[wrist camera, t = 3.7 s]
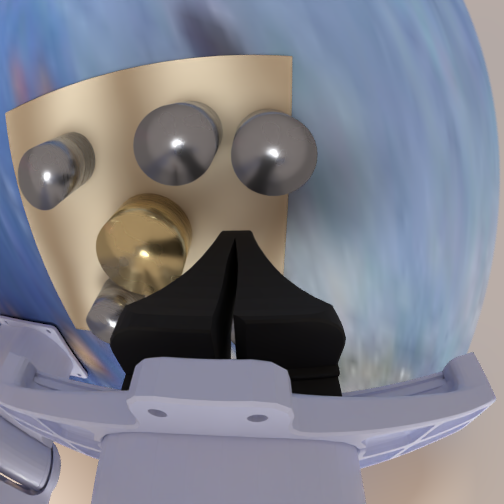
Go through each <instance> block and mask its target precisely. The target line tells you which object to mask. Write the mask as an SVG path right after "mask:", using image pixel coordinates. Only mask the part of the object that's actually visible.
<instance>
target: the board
mask: <svg viewBox="0 0 504 504" xmlns="http://www.w3.org/2000/svg"><path fill="white" fill-rule="evenodd" d="M184 101H198V102H201V103H204V104H206V105H208V106H209V107H211V108H212V109H213V110H214V111H215V112H216V113H217V115H218V116H219V118H220V121H221V123H222V129H223V135H222V140H221V143H220V146H219V148H218V150H217V152H216V154H215V156H214V158H213V161H212V163H211V165H210V166H209V168H208V169H207V171H206V172H205V173H204V174H203V175H202V176H201V177H199V178H198V179H197V180H195V181H193V182H191V183H188V184H185V185H180V186H169V185H164V184H160V183H158V182H156V181H154V180H152V179H151V178H149V177H148V176H147V175H146V174H145V173H144V172H143V171H142V170H141V168H140V167H139V165H138V163H137V161H136V158H135V155H134V149H133V142H134V136H135V132H136V130H137V128H138V126H139V124H140V122H141V121H142V120H143V118H144V117H145V116H146V115H148V114H149V113H150V112H151V111H153V110H155V109H157V108H159V107H161V106H164V105H169V104H174V103H178V102H184ZM260 109H276V110H279V111H282V112H284V113H286V114H288V115H289V116H291V109H292V56H276V55H230V56H212V57H200V58H190V59H181V60H174V61H167V62H160V63H154V64H149V65H144V66H139V67H134V68H129V69H125V70H121V71H116V72H112V73H109V74H105V75H101V76H98V77H94V78H91V79H88V80H84V81H81V82H78V83H75V84H72V85H69V86H67V87H64V88H61V89H58V90H56V91H53V92H51V93H48V94H46V95H43V96H41V97H38V98H36V99H34V100H32V101H29V102H27V103H25V104H23V105H21V106H19V107H17V108H15V109H13V110H11V111H9V112H7V113H5V114H6V124H7V131H8V138H9V145H10V151H11V156H12V161H13V166H14V171H15V175H16V179H17V184H18V188H19V191H20V195H21V199H22V202H23V206H24V209H25V212H26V216H27V219H28V222H29V225H30V228H31V231H32V233H33V236H34V239H35V242H36V244H37V247H38V250H39V252H40V255H41V257H42V260H43V262H44V264H45V267H46V269H47V271H48V274H49V276H50V278H51V280H52V283H53V285H54V287H55V289H56V291H57V293H58V295H59V297H60V299H61V301H62V303H63V305H64V307H65V309H66V311H67V313H68V315H69V316H70V318H71V320H72V322H73V324H74V325H75V327H76V329H82V330H90V329H89V327H88V325H87V322H86V317H87V315H88V313H89V311H90V309H91V307H92V305H93V303H94V301H95V300H96V298H97V296H98V294H99V292H100V290H101V289H102V287H103V285H104V283H105V282H106V280H108V279H109V276H108V275H107V274H106V273H105V272H104V270H103V269H102V267H101V265H100V263H99V260H98V257H97V253H96V240H97V236H98V234H99V232H100V230H101V228H102V227H103V226H104V225H105V223H106V222H107V221H108V220H109V219H110V218H111V216H112V215H113V214H114V213H115V212H116V211H117V210H118V209H119V207H120V206H121V205H122V204H123V203H124V202H125V201H126V200H128V199H129V198H131V197H133V196H135V195H138V194H143V193H153V194H158V195H162V196H165V197H167V198H169V199H171V200H172V201H174V202H175V203H176V204H177V205H179V206H180V207H181V208H182V210H183V211H184V212H185V214H186V215H187V217H188V219H189V221H190V224H191V227H192V242H191V246H190V249H189V253H188V256H187V259H186V262H185V266H184V269H183V273H182V275H183V274H184V273H185V272H186V271H188V270H189V269H190V268H191V267H192V266H193V265H194V264H195V263H196V262H197V261H198V260H199V259H200V258H201V257H202V256H203V255H204V253H205V252H206V251H207V250H208V249H209V247H210V246H211V245H212V244H213V242H214V241H215V240H216V238H217V237H218V235H219V234H220V233H221V232H222V231H232V230H251V231H252V232H253V235H254V238H255V240H256V242H257V243H258V245H259V247H260V248H261V250H262V251H263V253H264V254H265V256H266V257H267V258H268V260H269V261H270V262H271V263H272V264H273V266H274V267H275V268H276V269H277V270H278V271H279V272H280V273H281V274H282V275H283V270H284V256H285V242H286V226H287V209H288V194H285V195H280V196H267V195H262V194H259V193H256V192H254V191H252V190H250V189H249V188H247V187H246V186H245V185H244V184H243V183H242V182H241V181H240V180H239V178H238V177H237V175H236V174H235V172H234V169H233V166H232V162H231V149H232V144H233V140H234V136H235V132H236V129H237V127H238V125H239V124H240V122H241V121H242V120H243V119H244V118H245V117H246V116H247V115H249V114H250V113H252V112H254V111H257V110H260ZM69 132H76V133H80V134H82V135H83V136H85V137H86V138H87V139H88V140H89V142H90V143H91V145H92V147H93V150H94V153H95V168H94V172H93V174H92V176H91V178H90V179H89V180H88V181H87V182H86V183H85V184H83V185H82V186H81V187H79V188H78V189H77V190H75V191H74V192H73V193H71V194H70V195H69V196H68V197H66V198H65V199H64V200H63V201H61V202H60V203H59V204H58V205H57V206H55V207H54V208H53V209H50V210H40V209H37V208H35V207H34V206H32V205H31V204H30V203H29V202H28V201H27V200H26V198H25V197H24V195H23V193H22V191H21V189H20V185H19V181H18V167H19V163H20V160H21V158H22V156H23V155H24V153H25V152H26V151H27V150H29V149H31V148H33V147H35V146H37V145H39V144H42V143H44V142H46V141H49V140H51V139H53V138H56V137H58V136H61V135H63V134H66V133H69ZM147 296H149V295H145V297H147ZM90 331H91V330H90Z"/></svg>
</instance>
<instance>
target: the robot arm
mask: <svg viewBox="0 0 504 504" xmlns="http://www.w3.org/2000/svg"><path fill="white" fill-rule="evenodd" d="M233 320H234V333H235V346H236V358H237V359H231V332H232V322H233ZM0 323H1V324H2V325H1V326H0V472H1V473H3V474H4V475H6V476H8V477H9V478H11V479H13V480H15V481H17V482H19V483H20V484H22V485H19V484H17V483H14V482H12V481H11V480H9V479H7V478H5V477H4V476H2V475H0V504H49V500H50V496H51V493H52V491H53V490H54V488H55V487H56V485H57V482H58V479H59V475H60V467H61V460H60V455H59V453H58V450H57V447H56V445H54V443H53V442H57V443H59V444H61V445H63V446H66V447H68V448H71V449H73V450H75V451H77V452H80V453H83V454H85V455H87V456H90V457H93V458H96V459H98V460H99V462H98V467H97V472H96V477H95V483H94V489H93V495H92V501H91V504H366V500H365V493H364V487H363V481H362V475H361V470H360V469H361V468H365V467H368V466H371V465H375V464H378V463H381V462H384V461H387V460H390V459H393V458H396V457H399V456H401V455H404V454H406V453H409V452H411V451H414V450H416V449H419V448H421V447H423V446H426V445H428V444H431V443H433V442H435V441H437V440H440V439H442V438H444V437H446V436H449V435H451V434H453V433H455V432H457V431H459V430H461V429H463V428H464V427H465V426H467V425H468V424H469V423H470V422H472V421H473V420H474V419H475V418H477V417H478V416H479V415H480V414H481V413H482V412H484V411H485V410H486V409H487V408H488V407H489V406H490V405H491V404H492V403H494V402H495V400H496V397H495V395H494V392H493V390H492V388H491V386H490V384H489V382H488V380H487V377H486V375H485V373H484V371H483V369H482V367H481V365H480V364H479V362H478V360H477V358H476V356H475V354H474V352H471V353H468V354H465V355H462V356H458V357H456V358H454V359H452V360H451V361H449V362H448V363H447V365H446V366H445V367H444V369H443V371H442V372H439V373H435V374H432V375H428V376H424V377H420V378H417V379H413V380H409V381H404V382H400V383H396V384H391V385H386V386H381V387H376V388H371V389H365V390H359V391H353V392H346V393H341V388H340V384H339V380H338V376H339V374H340V371H339V367H338V361H339V359H340V356H341V353H342V351H343V348H344V346H345V340H346V337H345V333H344V329H343V326H342V324H341V321H340V319H339V317H338V315H337V313H336V312H335V310H334V308H333V306H332V305H330V304H328V303H326V302H324V301H322V300H320V299H317V298H315V297H313V296H312V295H310V294H308V293H306V292H305V291H303V290H301V289H300V288H298V287H297V286H296V285H294V284H293V283H292V282H290V281H289V280H288V279H286V278H285V277H284V276H283V275H282V274H281V273H280V272H279V271H278V270H277V269H276V268H275V267H274V266H273V264H272V263H271V262H270V261H269V260H268V258H267V257H266V256H265V254H264V253H263V251H262V250H261V248H260V247H259V245H258V243H257V242H256V240H255V238H254V235H253V232H252V231H251V230H232V231H222V232H221V233H220V234H219V235H218V237H217V238H216V240H215V241H214V242H213V244H212V245H211V246H210V247H209V249H208V250H207V251H206V252H205V253H204V255H203V256H202V257H201V258H200V259H199V260H198V261H197V262H196V263H195V264H194V265H193V266H192V267H191V268H190V269H189V270H188V271H186V272H185V273H184V274H183V275H181V276H180V277H179V278H177V279H176V280H174V281H173V282H171V283H170V284H168V285H167V286H165V287H164V288H162V289H160V290H159V291H157V292H155V293H153V294H151V295H149V296H147V297H145V298H143V299H140V300H138V301H135V302H133V303H131V304H128V305H125V307H124V309H123V311H122V312H121V314H120V316H119V318H118V321H117V323H116V325H115V328H114V330H113V333H112V335H111V338H110V347H111V349H112V352H113V353H114V355H115V357H116V359H117V360H118V362H119V364H120V365H121V367H122V369H123V370H124V372H125V373H126V375H125V379H124V382H123V386H122V389H121V390H117V389H112V388H106V387H101V386H96V385H92V384H87V383H83V382H78V381H74V380H70V379H69V377H70V375H73V376H77V377H82V378H87V377H88V374H87V372H86V371H85V370H84V368H83V367H82V366H81V364H80V363H79V361H78V360H77V359H76V357H75V356H74V354H73V353H72V351H71V350H70V348H69V347H68V345H67V344H66V342H65V341H64V339H63V338H62V336H61V335H60V333H59V331H58V330H57V328H56V327H54V326H52V325H46V324H41V323H35V322H30V321H25V320H20V319H15V318H10V317H6V316H1V315H0Z"/></svg>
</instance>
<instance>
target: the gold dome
mask: <svg viewBox="0 0 504 504" xmlns="http://www.w3.org/2000/svg"><path fill="white" fill-rule="evenodd" d="M191 242H192V227H191V224H190V221H189V219H188V217H187V215H186V214H185V212H184V211H183V210H182V208H181V207H180V206H179V205H177V204H176V203H175V202H174V201H172V200H171V199H169V198H167V197H165V196H162V195H158V194H153V193H143V194H138V195H135V196H133V197H131V198H129V199H128V200H126V201H125V202H124V203H123V204H122V205H121V206H120V207H119V209H118V210H117V211H116V212H115V213H114V214H113V215H112V216H111V218H110V219H109V220H108V221H107V222H106V223H105V225H104V226H103V227H102V228H101V230H100V232H99V234H98V236H97V240H96V253H97V257H98V260H99V263H100V265H101V267H102V269H103V270H104V272H105V273H106V274H107V275H108V276H109V278H110V279H111V280H113V281H114V282H115V283H116V284H118V285H119V286H121V287H122V288H124V289H126V290H128V291H131V292H134V293H137V294H142V295H151V294H153V293H155V292H157V291H159V290H160V289H162V288H164V287H165V286H167V285H168V284H170V283H171V282H173V281H174V280H176V279H177V278H179V277H180V276H181V275H182V273H183V269H184V266H185V262H186V259H187V256H188V253H189V249H190V246H191Z"/></svg>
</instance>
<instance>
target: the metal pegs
mask: <svg viewBox="0 0 504 504" xmlns="http://www.w3.org/2000/svg"><path fill="white" fill-rule="evenodd" d="M222 135H223V129H222V123H221V121H220V118H219V116H218V115H217V113H216V112H215V111H214V110H213V109H212V108H211V107H209V106H208V105H206V104H204V103H201V102H198V101H184V102H178V103H174V104H169V105H164V106H161V107H159V108H157V109H155V110H153V111H151V112H150V113H149V114H148V115H146V116H145V117H144V118H143V120H142V121H141V122H140V124H139V126H138V128H137V130H136V132H135V136H134V142H133V149H134V155H135V158H136V161H137V163H138V165H139V167H140V168H141V170H142V171H143V172H144V173H145V174H146V175H147V176H148V177H149V178H151V179H152V180H154V181H156V182H158V183H160V184H164V185H169V186H180V185H185V184H188V183H191V182H193V181H195V180H197V179H198V178H199V177H201V176H202V175H203V174H204V173H205V172H206V171H207V169H208V168H209V166H210V165H211V163H212V161H213V158H214V156H215V154H216V152H217V150H218V148H219V146H220V143H221V140H222ZM231 162H232V166H233V169H234V172H235V174H236V175H237V177H238V178H239V180H240V181H241V182H242V183H243V184H244V185H245V186H246V187H247V188H249V189H250V190H252V191H254V192H256V193H259V194H262V195H267V196H280V195H285V194H289V193H291V192H293V191H295V190H297V189H299V188H300V187H301V186H303V185H304V184H305V183H306V182H307V181H308V179H309V178H310V177H311V175H312V173H313V171H314V169H315V166H316V163H317V147H316V143H315V140H314V138H313V136H312V134H311V133H310V131H309V130H308V129H307V128H306V127H305V126H304V125H303V124H302V123H301V122H299V121H298V120H296V119H295V118H293V117H291V116H289V115H288V114H286V113H284V112H282V111H279V110H276V109H260V110H257V111H254V112H252V113H250V114H249V115H247V116H246V117H245V118H244V119H243V120H242V121H241V122H240V124H239V125H238V127H237V129H236V132H235V136H234V140H233V144H232V149H231ZM94 168H95V153H94V150H93V147H92V145H91V143H90V142H89V140H88V139H87V138H86V137H85V136H83V135H82V134H80V133H76V132H69V133H66V134H63V135H61V136H58V137H56V138H53V139H51V140H49V141H46V142H44V143H42V144H39V145H37V146H35V147H33V148H31V149H29V150H27V151H26V152H25V153H24V155H23V156H22V158H21V160H20V163H19V167H18V181H19V185H20V189H21V191H22V193H23V195H24V197H25V198H26V200H27V201H28V202H29V203H30V204H31V205H32V206H34V207H35V208H37V209H40V210H50V209H53V208H54V207H55V206H57V205H58V204H59V203H60V202H61V201H63V200H64V199H65V198H66V197H68V196H69V195H70V194H71V193H73V192H74V191H75V190H77V189H78V188H79V187H81V186H82V185H83V184H85V183H86V182H87V181H88V180H89V179H90V178H91V176H92V174H93V172H94ZM143 298H145V295H142V294H137V293H134V292H131V291H128V290H126V289H124V288H122V287H121V286H119V285H118V284H116V283H115V282H114V281H113V280H111V279H110V278H109V279H108V280H106V282H105V283H104V285H103V287H102V289H101V290H100V292H99V294H98V296H97V298H96V300H95V301H94V303H93V305H92V307H91V309H90V311H89V313H88V315H87V317H86V322H87V325H88V327H89V329H90V330H91V332H92V333H93V334H94V335H95V336H97V337H98V338H99V339H101V340H103V341H105V342H107V343H109V344H110V338H111V335H112V333H113V330H114V328H115V325H116V323H117V321H118V318H119V316H120V314H121V312H122V311H123V309H124V307H125V305H128V304H131V303H133V302H135V301H138V300H140V299H143ZM231 341H232V342H233V343H234V344H235V333H234V320H233V322H232V332H231Z"/></svg>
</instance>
